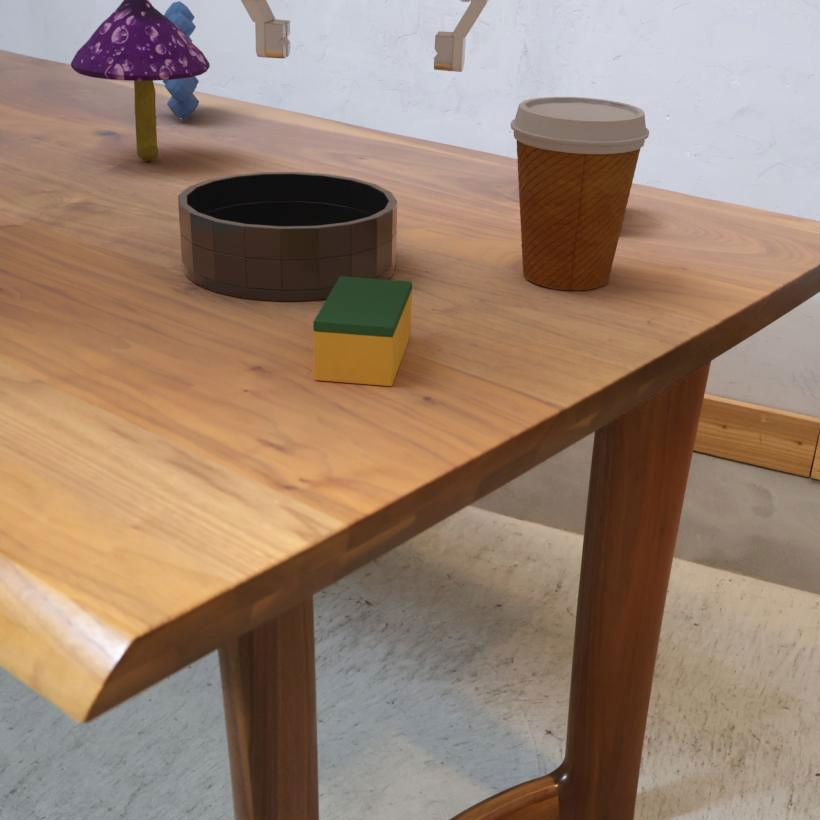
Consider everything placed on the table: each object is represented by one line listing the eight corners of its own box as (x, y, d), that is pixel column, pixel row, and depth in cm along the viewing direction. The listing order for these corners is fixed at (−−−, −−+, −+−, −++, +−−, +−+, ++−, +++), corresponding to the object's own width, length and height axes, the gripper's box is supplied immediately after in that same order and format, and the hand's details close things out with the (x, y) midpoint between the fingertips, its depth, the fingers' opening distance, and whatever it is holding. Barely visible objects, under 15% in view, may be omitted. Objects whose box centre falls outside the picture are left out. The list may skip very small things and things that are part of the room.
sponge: (313, 380, 65) (313, 321, 64) (340, 330, 73) (339, 275, 71) (392, 386, 65) (393, 327, 63) (410, 335, 72) (412, 281, 71)
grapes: (148, 106, 133) (139, -5, 128) (207, 107, 134) (201, -3, 129) (141, 127, 123) (131, 7, 118) (205, 127, 124) (199, 9, 119)
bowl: (153, 292, 77) (147, 219, 75) (216, 229, 91) (213, 166, 89) (377, 309, 76) (378, 235, 74) (407, 243, 90) (409, 179, 87)
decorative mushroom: (115, 183, 102) (98, 3, 95) (59, 155, 110) (40, -13, 104) (239, 167, 109) (232, -2, 102) (178, 141, 118) (167, -16, 111)
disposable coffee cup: (530, 249, 90) (542, 90, 84) (648, 271, 86) (668, 106, 81) (479, 283, 82) (489, 110, 76) (606, 308, 78) (625, 129, 73)
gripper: (584, -223, 57) (557, 68, 63) (180, -246, 58) (193, 41, 65) (585, -233, 51) (555, 87, 58) (137, -258, 53) (156, 57, 59)
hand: (360, 63), depth 61 cm, fingers open, 8 cm apart
